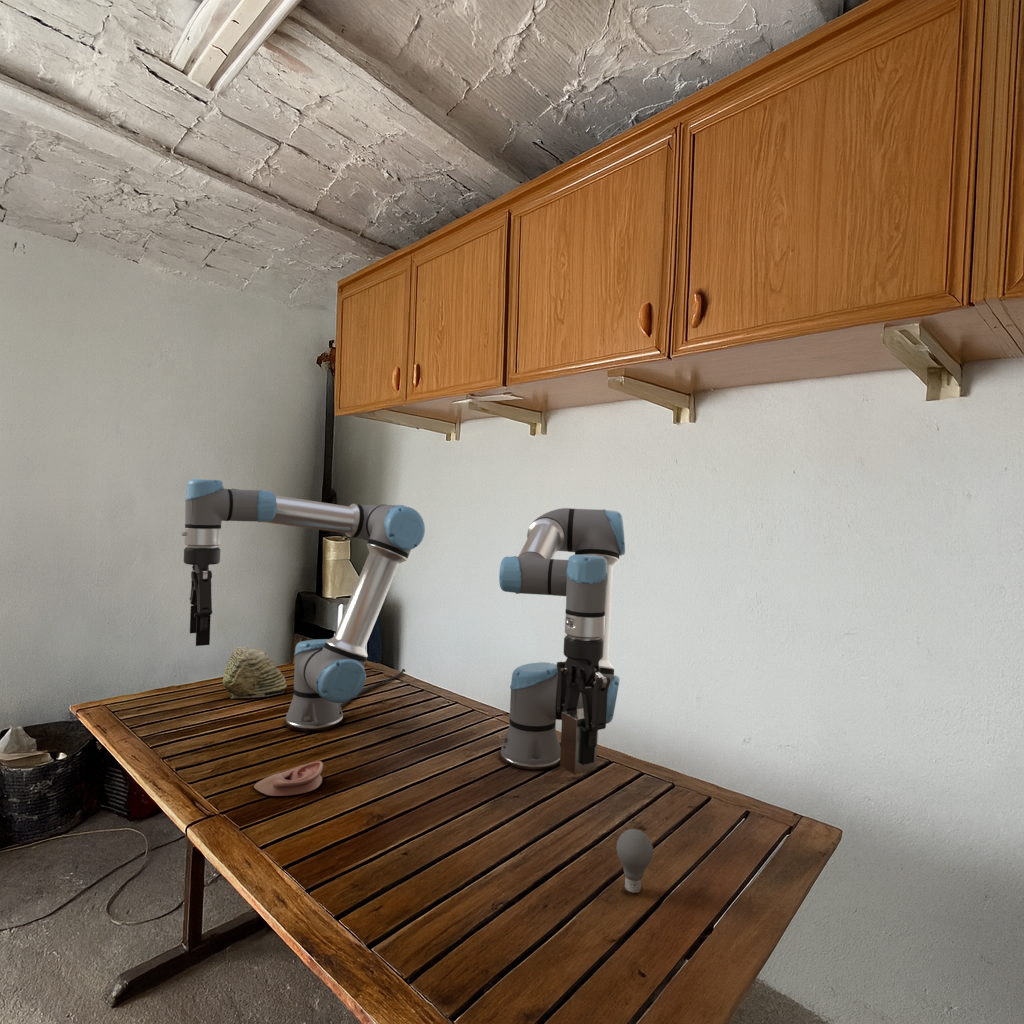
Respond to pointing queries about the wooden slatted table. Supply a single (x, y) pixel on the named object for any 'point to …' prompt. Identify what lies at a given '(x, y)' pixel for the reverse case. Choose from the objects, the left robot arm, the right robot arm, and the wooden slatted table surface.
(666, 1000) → the wooden slatted table surface
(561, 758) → the block
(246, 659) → the fossil
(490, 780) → the wooden slatted table surface
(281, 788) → the anatomical model
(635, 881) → the light bulb
